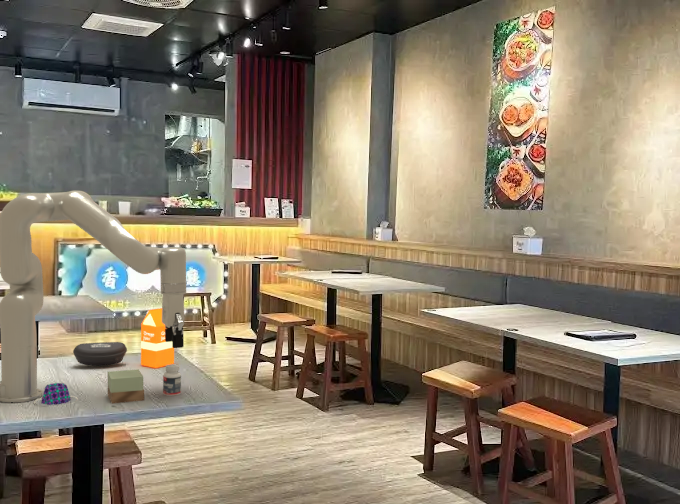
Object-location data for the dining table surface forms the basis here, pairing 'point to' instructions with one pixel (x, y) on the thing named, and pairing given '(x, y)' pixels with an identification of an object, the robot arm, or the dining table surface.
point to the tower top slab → (125, 381)
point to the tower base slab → (126, 396)
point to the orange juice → (155, 341)
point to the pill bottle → (172, 380)
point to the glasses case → (100, 353)
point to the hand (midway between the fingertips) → (174, 344)
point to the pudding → (55, 394)
